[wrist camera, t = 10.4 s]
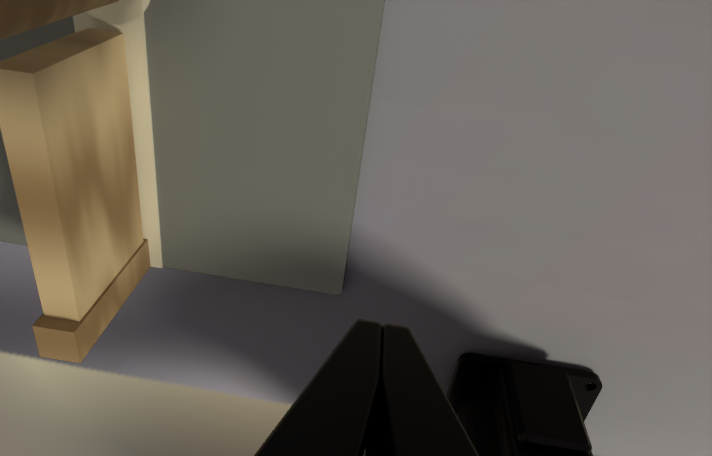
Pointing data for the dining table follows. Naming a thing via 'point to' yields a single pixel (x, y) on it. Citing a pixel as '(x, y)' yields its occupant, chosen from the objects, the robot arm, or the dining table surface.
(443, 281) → the dining table surface
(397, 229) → the dining table surface
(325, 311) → the dining table surface
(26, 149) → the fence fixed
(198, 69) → the card
